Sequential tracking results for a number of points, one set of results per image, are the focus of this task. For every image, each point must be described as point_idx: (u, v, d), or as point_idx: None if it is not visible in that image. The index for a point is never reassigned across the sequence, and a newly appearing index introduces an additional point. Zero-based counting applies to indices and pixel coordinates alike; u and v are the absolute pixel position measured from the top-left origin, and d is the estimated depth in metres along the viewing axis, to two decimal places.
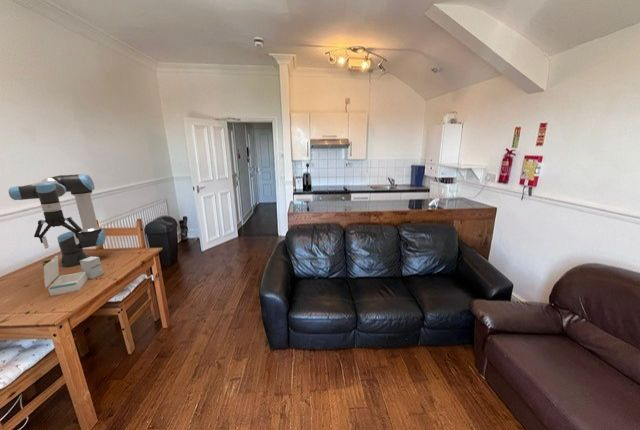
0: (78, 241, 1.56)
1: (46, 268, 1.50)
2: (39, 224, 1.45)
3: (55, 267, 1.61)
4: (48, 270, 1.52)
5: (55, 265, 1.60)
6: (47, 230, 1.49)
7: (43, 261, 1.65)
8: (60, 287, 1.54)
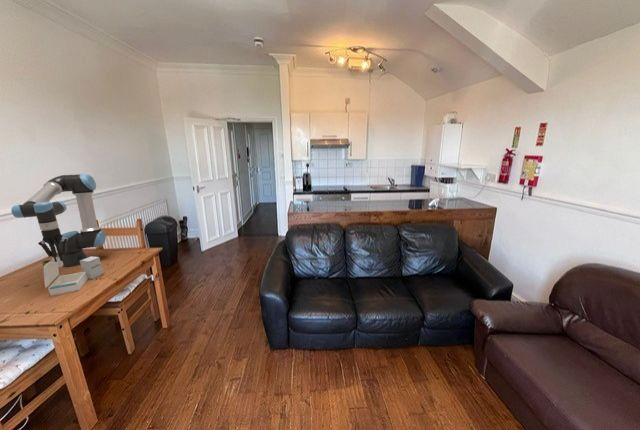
0: (62, 263, 1.59)
1: (46, 268, 1.50)
2: (42, 245, 1.51)
3: (55, 267, 1.61)
4: (48, 270, 1.52)
5: (55, 265, 1.60)
6: (54, 248, 1.55)
7: (43, 261, 1.65)
8: (60, 287, 1.54)
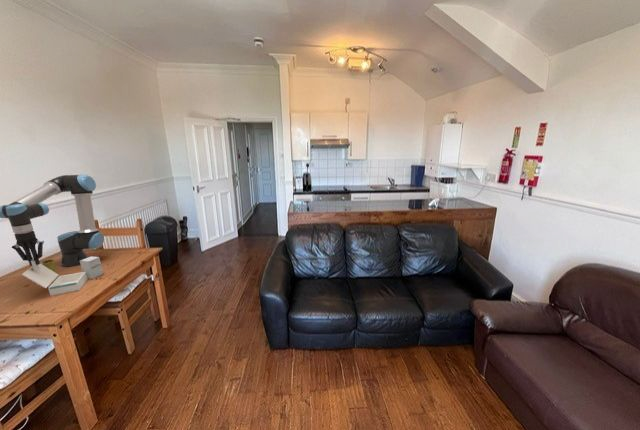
0: (38, 267, 1.54)
1: (28, 275, 1.47)
2: (15, 249, 1.47)
3: (44, 271, 1.59)
4: (33, 275, 1.50)
5: (42, 269, 1.58)
6: (29, 252, 1.50)
7: (43, 261, 1.65)
8: (60, 287, 1.54)
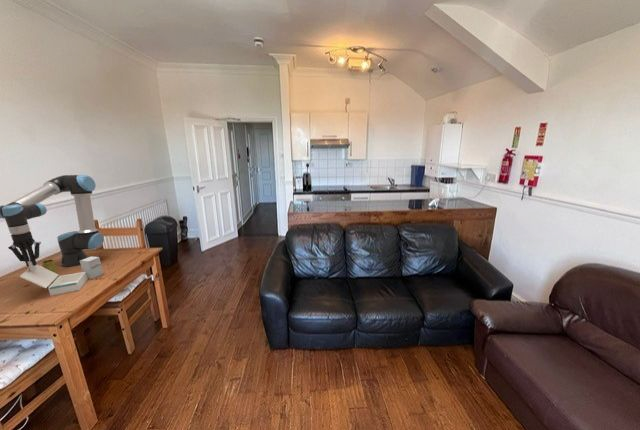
0: (35, 268, 1.54)
1: (26, 276, 1.47)
2: (12, 249, 1.46)
3: (43, 272, 1.59)
4: (32, 276, 1.49)
5: (41, 271, 1.58)
6: (26, 252, 1.50)
7: (43, 261, 1.65)
8: (60, 287, 1.54)
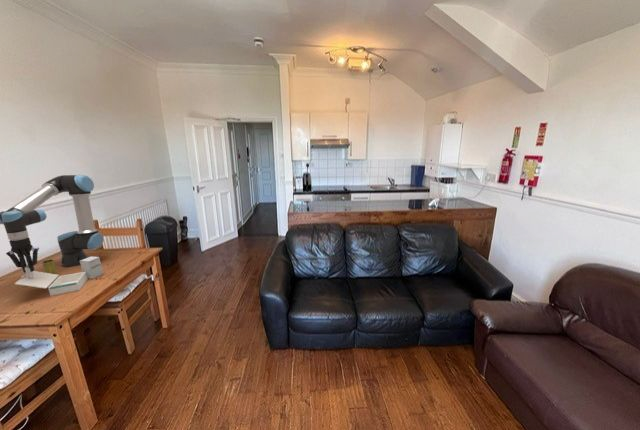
0: (33, 274, 1.54)
1: (22, 282, 1.47)
2: (10, 255, 1.46)
3: (41, 275, 1.58)
4: (28, 281, 1.49)
5: (38, 275, 1.58)
6: (23, 258, 1.50)
7: (43, 261, 1.65)
8: (60, 287, 1.54)
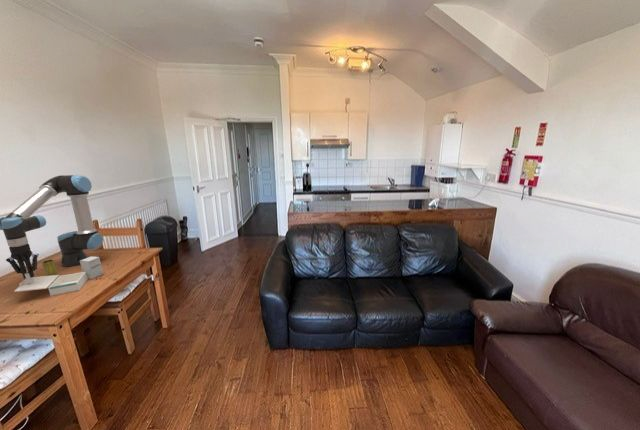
0: (33, 280, 1.54)
1: (22, 288, 1.47)
2: (10, 262, 1.47)
3: (41, 279, 1.59)
4: (28, 286, 1.50)
5: (38, 279, 1.58)
6: (23, 264, 1.50)
7: (43, 261, 1.65)
8: (60, 287, 1.54)
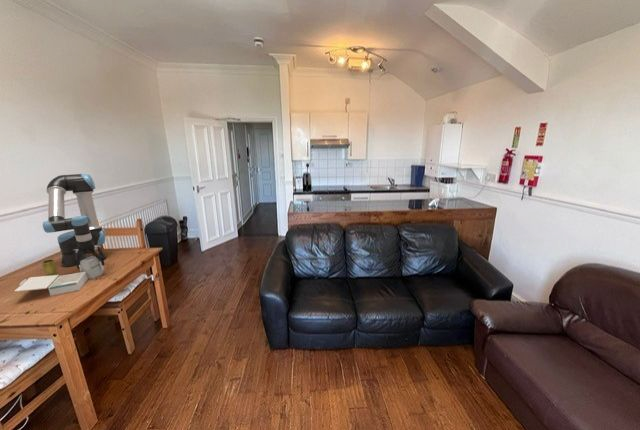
0: (103, 267, 1.78)
1: (22, 288, 1.47)
2: (74, 253, 1.67)
3: (41, 279, 1.59)
4: (28, 286, 1.50)
5: (38, 279, 1.58)
6: (82, 257, 1.71)
7: (43, 261, 1.65)
8: (60, 287, 1.54)
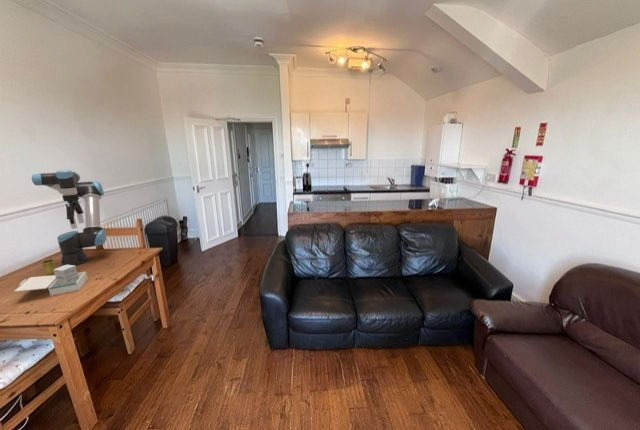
0: (75, 226, 1.69)
1: (22, 288, 1.47)
2: None
3: (41, 279, 1.59)
4: (28, 286, 1.50)
5: (38, 279, 1.58)
6: (76, 209, 1.77)
7: (43, 261, 1.65)
8: (60, 287, 1.54)
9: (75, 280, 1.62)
